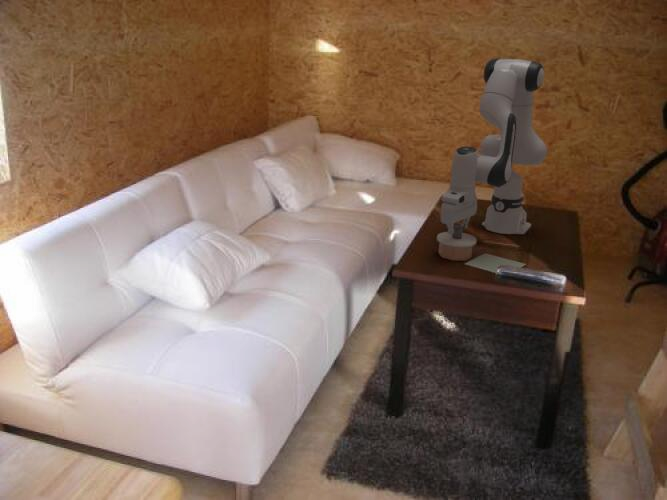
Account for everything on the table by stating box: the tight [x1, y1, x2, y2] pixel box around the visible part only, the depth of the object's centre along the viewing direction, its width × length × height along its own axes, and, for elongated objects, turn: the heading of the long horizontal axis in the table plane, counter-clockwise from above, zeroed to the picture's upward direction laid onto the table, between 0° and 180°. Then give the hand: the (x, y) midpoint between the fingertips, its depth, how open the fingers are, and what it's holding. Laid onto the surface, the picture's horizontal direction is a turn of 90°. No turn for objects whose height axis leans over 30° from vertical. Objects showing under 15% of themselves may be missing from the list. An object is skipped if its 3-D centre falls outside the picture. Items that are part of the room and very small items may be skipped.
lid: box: [436, 225, 477, 247], centre depth 232 cm, size 14×14×5 cm
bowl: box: [437, 242, 473, 261], centre depth 233 cm, size 11×11×6 cm
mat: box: [464, 253, 527, 274], centre depth 227 cm, size 16×16×1 cm
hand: (457, 231), depth 231 cm, fingers open, 8 cm apart
